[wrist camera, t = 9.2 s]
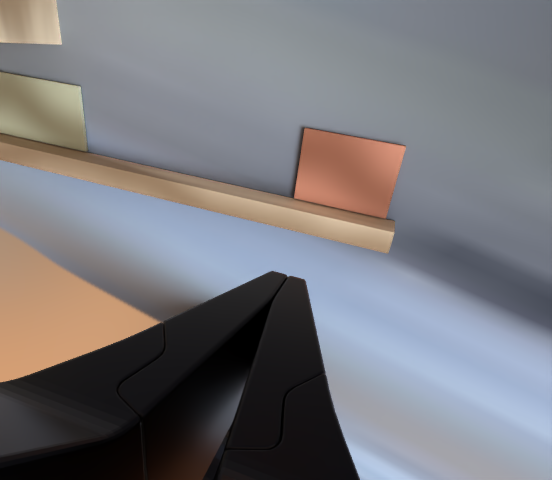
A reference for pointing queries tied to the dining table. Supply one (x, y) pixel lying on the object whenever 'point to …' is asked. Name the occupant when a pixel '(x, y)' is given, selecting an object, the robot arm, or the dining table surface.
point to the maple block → (29, 22)
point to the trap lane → (203, 192)
